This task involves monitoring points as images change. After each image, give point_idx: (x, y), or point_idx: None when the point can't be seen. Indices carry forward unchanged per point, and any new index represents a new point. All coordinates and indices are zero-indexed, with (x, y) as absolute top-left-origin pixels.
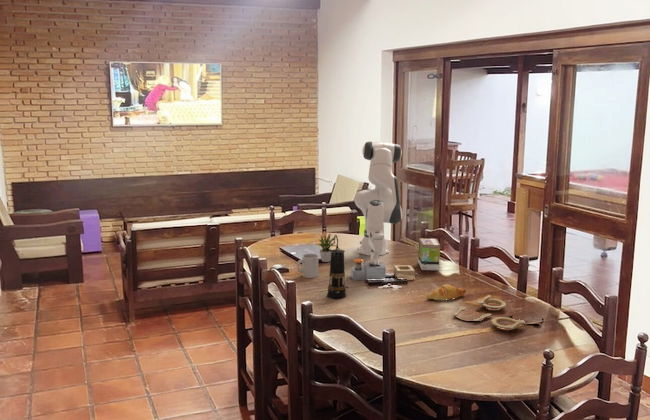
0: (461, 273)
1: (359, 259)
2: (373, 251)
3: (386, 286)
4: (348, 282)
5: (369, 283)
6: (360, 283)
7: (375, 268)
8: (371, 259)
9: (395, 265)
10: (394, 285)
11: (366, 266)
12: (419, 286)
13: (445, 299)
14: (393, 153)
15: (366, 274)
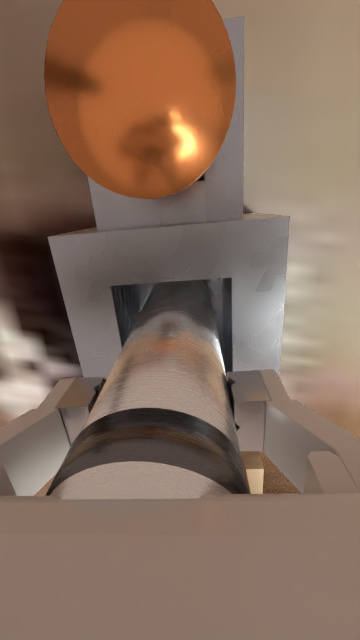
0: None
1: (163, 118)
2: (63, 464)
3: (6, 349)
4: (29, 40)
5: (42, 246)
6: (26, 169)
7: (75, 332)
8: (140, 332)
9: (259, 477)
10: (36, 393)
11: (104, 240)
12: (47, 490)
13: None
14: None
15: (79, 230)
